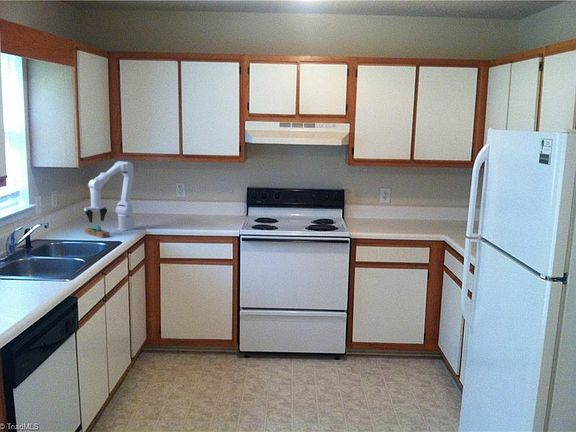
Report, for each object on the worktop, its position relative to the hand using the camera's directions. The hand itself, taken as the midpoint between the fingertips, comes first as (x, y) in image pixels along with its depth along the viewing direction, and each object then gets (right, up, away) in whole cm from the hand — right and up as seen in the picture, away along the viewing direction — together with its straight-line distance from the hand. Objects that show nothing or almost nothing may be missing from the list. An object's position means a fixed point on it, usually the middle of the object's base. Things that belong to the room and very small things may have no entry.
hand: (96, 221), depth 317 cm
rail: (0, -8, +1) cm, 8 cm away
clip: (0, -8, +1) cm, 8 cm away
